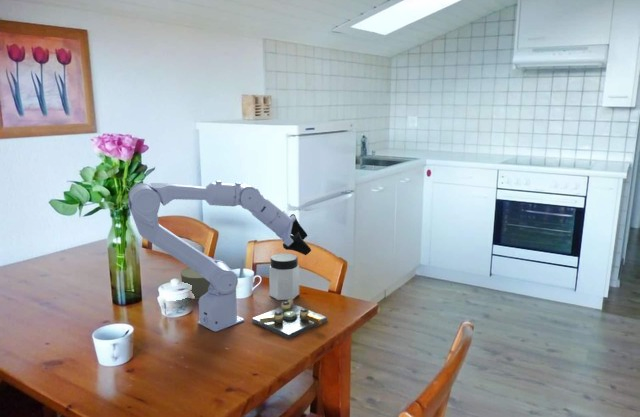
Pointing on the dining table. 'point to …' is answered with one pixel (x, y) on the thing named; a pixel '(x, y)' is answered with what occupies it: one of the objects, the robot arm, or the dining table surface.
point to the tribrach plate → (289, 322)
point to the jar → (284, 276)
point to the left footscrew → (272, 318)
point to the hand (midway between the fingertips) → (306, 244)
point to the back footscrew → (287, 305)
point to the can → (195, 282)
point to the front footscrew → (309, 316)
